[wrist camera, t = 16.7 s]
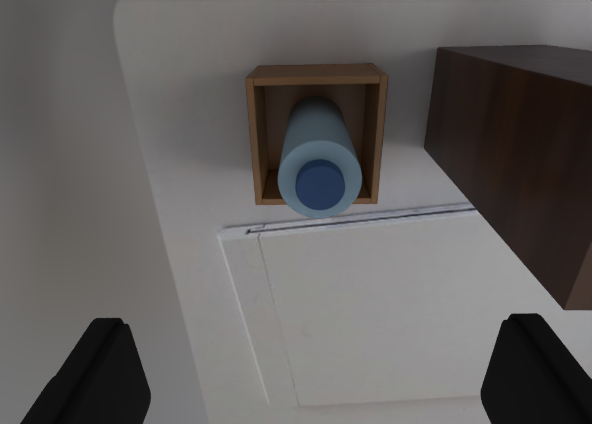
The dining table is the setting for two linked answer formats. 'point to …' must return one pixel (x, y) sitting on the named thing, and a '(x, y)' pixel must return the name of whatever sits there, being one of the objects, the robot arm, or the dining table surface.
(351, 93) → the open wooden box
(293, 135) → the bottle
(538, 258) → the plinth
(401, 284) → the dining table surface
